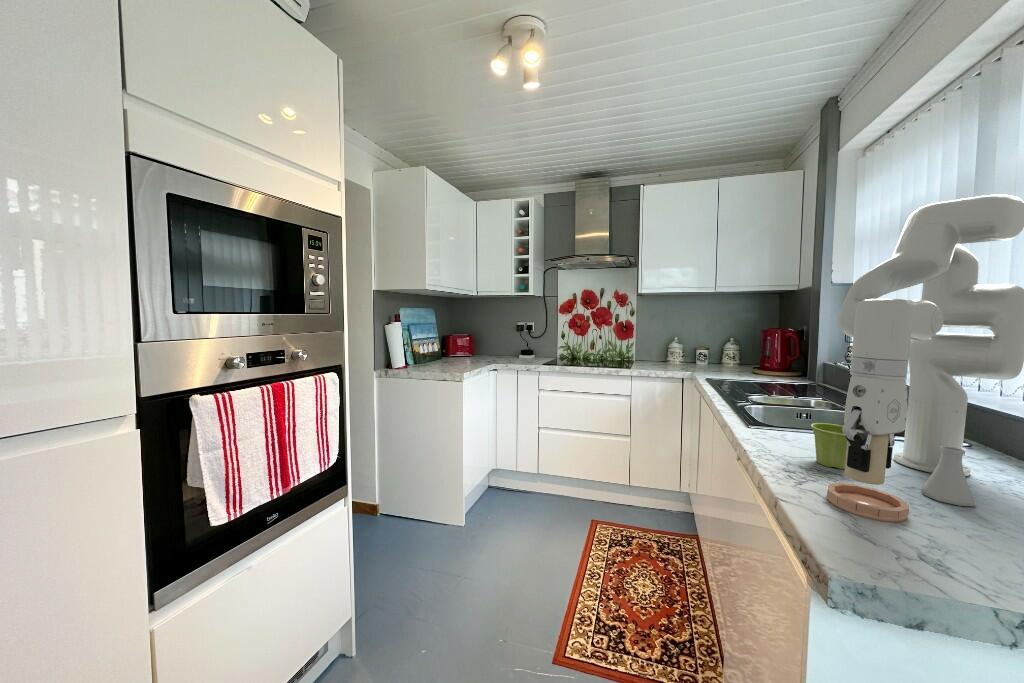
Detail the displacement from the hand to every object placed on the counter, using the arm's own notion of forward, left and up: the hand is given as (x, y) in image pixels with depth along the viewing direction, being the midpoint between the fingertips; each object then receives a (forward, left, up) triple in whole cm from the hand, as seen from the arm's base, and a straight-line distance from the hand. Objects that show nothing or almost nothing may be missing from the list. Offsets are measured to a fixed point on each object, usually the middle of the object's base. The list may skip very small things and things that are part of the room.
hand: (868, 466), depth 73 cm
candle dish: (0, 0, -7) cm, 7 cm away
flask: (-20, +3, -8) cm, 22 cm away
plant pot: (-18, -16, -8) cm, 25 cm away
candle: (0, -1, -3) cm, 3 cm away
